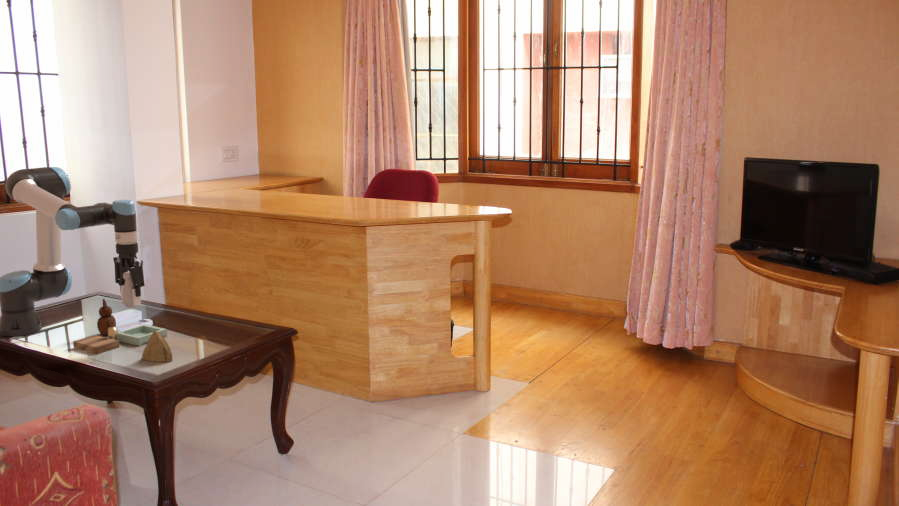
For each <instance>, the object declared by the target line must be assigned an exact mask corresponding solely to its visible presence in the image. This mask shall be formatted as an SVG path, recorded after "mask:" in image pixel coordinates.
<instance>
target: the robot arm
mask: <svg viewBox="0 0 899 506" xmlns="http://www.w3.org/2000/svg"><path fill="white" fill-rule="evenodd" d="M71 190H72V185H71V180H70V178H69V176H68V174H67V172H66V171H65V170H64V169H63V168H61V167H57V166H45V167H36V168H35V167H34V168H22V169H18V170H15V171H14V172H12V173H10V175H9V176H8V177H7V178H6V181H5V191H6V194H7V195H8V197H10V199H12V200H13V201H15V202H17V203H19V204H21V205H27V206H30V207H31V208H33V209H35V230H36V232H35V233H36V235H35V236H36V262H35V263H34V264H33V266H32V272H31V271H29V270H18V271H17V270H16V271H11V272H9V273H8V272H7V273H5V274H3V275H1V276H0V313H1V314H0V336H3V337H18V336H19V337H20V336H26V335H30V334H33V333H34V334H35V333H37V332H39V331H41V330H42V329H43V327H42V321H41V320H40V317H39V315H38V314H37V311H36V309H35V302H40V301H44V300H49V299H54V298H55V299H56V298H59V297H61V296H65V295H67V294H68V292H69V291H70V290H71V289H72V285H73V277H72V275H71V271H70V269H69V268H67V267H66V265H65V263H63V262H62V248H61V247H62V245H61V244H62V239H61V234H62V233H61V230H62V231H73V230H78V229H84V228H90V227H96V226H104V225H111V226H114V227H113V228H114V239H115V240H114V241H115V253H116V254H117V255H118V256H115V257H113V263H114V281H115V283H116V284H118V286H119V291H120V297H121V303H122V304H124V303H123V294H124V286H125V279H124V278H123V274H124V273H125V272H130V275H131V279H132V283H133V286H134V287H133V288H132V292H133V305H134V306H136V305H138V306H139V305H142V299H141V296H142V291H141V290H142V289H141V288H142V287H145V286H146V285H145V276H144V269H143V264H144V261H143V259H141V260H140V259H138V256H137V254H138V252H139V243H138V240H139V239H138V237H139V236H138V230H137V211H136V206H135V205H136V204H135V201H134V200H131V199H117V200H113V201H112V203H108V202H97V203H95V204H92V205H86V206H76V205H74V204H71V203H70V202H68V201H66V200H65V196H68V195H69V194H70V192H71ZM136 307H137V306H136Z"/></svg>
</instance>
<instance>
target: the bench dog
mask: <svg viewBox="0 0 899 506" xmlns="http://www.w3.org/2000/svg"><path fill="white" fill-rule="evenodd" d="M117 332H118V330H117V326H116V327H109V328H108V336H107V338H110V339H114V340H117Z"/></svg>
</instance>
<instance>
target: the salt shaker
mask: <svg viewBox="0 0 899 506" xmlns="http://www.w3.org/2000/svg"><path fill="white" fill-rule="evenodd" d="M123 278H124V279H125V286H124V294H123V303H122V304H124V306H125V307H126V308H136V307H138V306H139V305H136V306H134V305H133V292H132V288H133V287H134V286H133V283H132V279H131V275H130V272H129V271H128V272H125V273H124V274H123Z"/></svg>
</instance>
